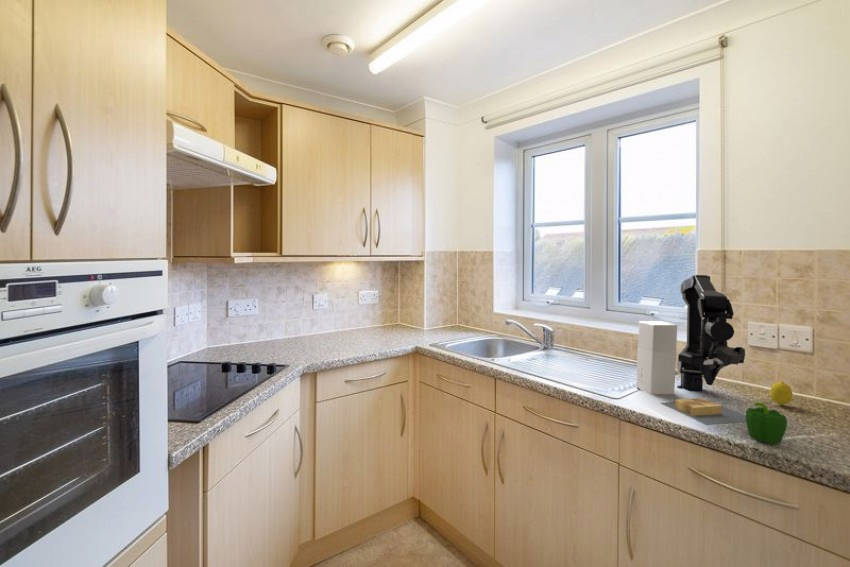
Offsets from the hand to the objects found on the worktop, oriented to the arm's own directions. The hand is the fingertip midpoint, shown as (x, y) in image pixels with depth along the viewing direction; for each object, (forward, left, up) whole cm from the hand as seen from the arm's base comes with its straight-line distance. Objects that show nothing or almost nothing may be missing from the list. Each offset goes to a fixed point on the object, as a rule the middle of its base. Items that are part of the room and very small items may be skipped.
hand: (709, 384), depth 128 cm
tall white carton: (-20, -2, -9) cm, 22 cm away
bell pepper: (+20, -2, -9) cm, 22 cm away
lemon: (-1, +29, -9) cm, 30 cm away
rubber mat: (+1, -1, -9) cm, 9 cm away
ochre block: (0, +1, -7) cm, 7 cm away
